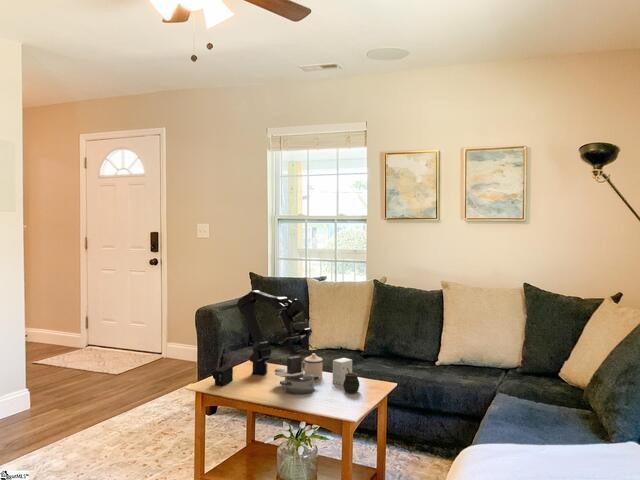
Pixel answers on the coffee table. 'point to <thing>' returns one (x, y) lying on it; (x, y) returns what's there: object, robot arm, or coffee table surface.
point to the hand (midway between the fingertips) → (301, 352)
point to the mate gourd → (351, 382)
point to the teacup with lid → (313, 366)
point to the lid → (291, 368)
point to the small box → (341, 369)
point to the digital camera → (223, 375)
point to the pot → (299, 384)
